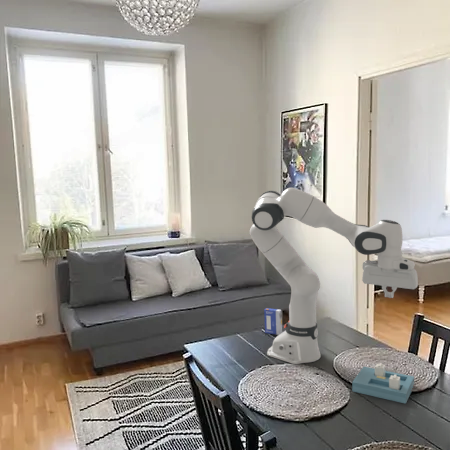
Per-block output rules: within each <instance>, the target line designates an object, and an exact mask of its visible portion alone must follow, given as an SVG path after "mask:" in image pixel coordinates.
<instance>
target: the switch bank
mask: <svg viewBox="0 0 450 450" xmlns="http://www.w3.org/2000/svg"><path fill="white" fill-rule="evenodd" d="M394 374H395V375H397V376H398V377H400V390H396V389H391V388H389V378H390V376H391V375H393V376H394ZM351 382H352V385H351V387H352V391H351V392H354V393H358V394H363V395H367V396H371V397H375V398H380V399H385V400H388V401H391V402H397V403H402V404H407V401H408V399H409V397H410V395H411V394H412V391H413V389H414V387H413V385H414V386H415V376H414V375H408V374H404V373H403V374H402V373H399V372H393V371H387V370H385V377H381V376H375V367H374V368H373V367H368V366H363V367H361V369H360V370H359V372H358V374H357V375H356V376H355V378H354V379H353V381H351ZM412 388H413V389H412ZM411 390H412V391H411Z"/></svg>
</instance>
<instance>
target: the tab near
mask: <svg viewBox="0 0 450 450" xmlns="http://www.w3.org/2000/svg"><path fill="white" fill-rule="evenodd" d="M389 388H391V389H396V390H400V377H398V376H397V375H395V374H394V376H393V375H391V376H390V378H389Z"/></svg>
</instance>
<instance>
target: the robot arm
mask: <svg viewBox="0 0 450 450" xmlns="http://www.w3.org/2000/svg"><path fill="white" fill-rule="evenodd" d="M286 216H287V217H290V218H293V219H295V220H296V221H298V222H300V223H302V224H303V225H306V226H309V227H312V228H316V229H317V228H319V229H320V228H325V229H329V230H331V231H332V232H335V233H336V234H339V235H341V236H342V237H344V238H346V240H348V241H349V243H350V244H351V246H352V247H353V248H355V250H356V251H357V252H358V253H360V254H361V255H365V256H368V255H376V254H377V260H370V259H367V260H365V261H364V262H362V271H363V272H362V279H361V281H362V283H363V284H367V285H372V286H373V285H374V286H381V290H382V291H383V293H384V298H389V299H391V298H392V299H393V298H394V295H395V292H396V291H397V289H398V288H400V289H401V288H402V289H409V290H415V289H417V288H418V286H419V278H418V277H419V276H418V272H417V270H416V269H415V267H416V266H415V265H416V262H415V261H413V260H411V259H407V258H405V257H403V252H402V247H403V229H402V225H401V224H400V223H399V222H397V221H394V220H391V219H381V220H380V221H379V222H377V223H375V224H374V225H372V226H368V225H365V224H357V223H353V222H351V221H349V220H347V219H345V218H343V217H342V216H340V215H338V214H336V213H335V212H334V211H333V210H332V209H331V208H330V207H329V206H328V205H327V204H326V203H325V202H324V201H322V200H321V199H319V197H316V196H314V195H312V194H310V193H308V192H307V191H304V190H301V189H298V188H295V187H288V188H286V189H284V190H283V192H281V193H279V192H277V191H276V190H267V191H264V192H263V193H262V194H261V195H259V197H258V199H257V201H255V204H254V207H253V209H252V211H251V221H252V222H251V223H252V225H251V226H250V229H249V236H250V238H251V239H252V241H253V243H254V244H255V247H257V248H258V250H259V251H260V252H261V254H262V255H263V256H264V257H265V258H266V259H267V260H268V262H270V264H271V265H272V266H273V268H274V269H275V270H276V271H277V272H278V273H279V274H280V275H281V276H282V278H283V279H284V280H285V281H286V282H287V283H288V285H289V286H290V289H291V291H290V300H289V301H290V302H289V305H288V311H289V312H288V317H289V318H288V319H289V320H288V322H286V323H285V324H284V325H283V329H285V330H284V331H282V333H281V334H279V335H277V336H276V337H275V338H274V339H273V341H272V345H271V346H270V347H268V349H267V352H266V354H267V356H268V357H271V358H275V359H277V360H280V361H284V362H287V363H288V364H289V363H290V364H292V365H299V364H300V365H301V364H304V363H305V364H308V363H312V362H317V361H318V360H319V359H320V358H321V355H322V354H321V352H320V348H319V344H318V333H319V331H318V330H319V328H318V323H317V301H318V294H319V291H320V288H321V282H320V278H319V276H318V275H317V273H316V272H315V271H314V270H313V269H312V268H311V267H310V266H309V265H308V264H307V263H306V262H305V261H304V260H303V258H302V257H301V256H300V255H299V253H298V252H297V251H296V249H295V248H294V247H293V246H292V245H291V243H290V242H289V241H288V239H286V238H285V236H284V235H283V234H282V233H281V232H280V231H279V229H278V227H277V225H278V224H279V223H281V221H283V220H284V218H285V217H286ZM387 287H390V288H391V290H392V291H388V290H387Z"/></svg>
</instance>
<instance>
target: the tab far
mask: <svg viewBox="0 0 450 450" xmlns="http://www.w3.org/2000/svg"><path fill="white" fill-rule="evenodd" d="M374 369H375V376H381V377H385V371H386V365H385V364H383V363H382V362H379V363H376V364H375V366H374Z"/></svg>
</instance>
